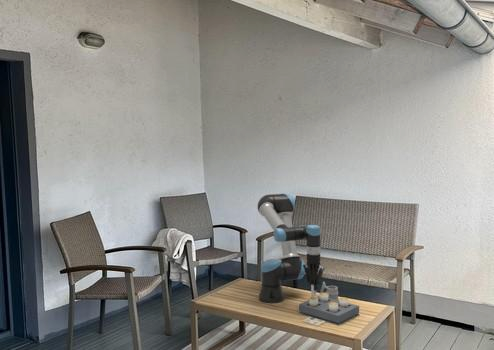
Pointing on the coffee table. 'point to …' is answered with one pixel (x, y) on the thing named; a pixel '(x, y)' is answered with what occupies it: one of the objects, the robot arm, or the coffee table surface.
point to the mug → (330, 291)
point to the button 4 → (343, 302)
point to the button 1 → (313, 301)
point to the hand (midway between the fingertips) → (313, 295)
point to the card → (314, 321)
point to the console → (325, 315)
